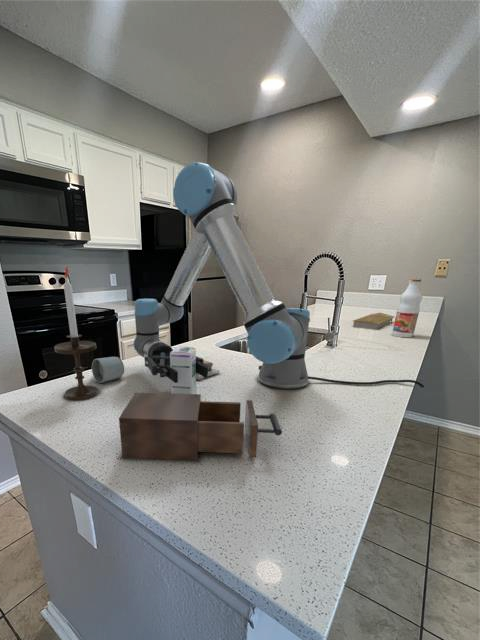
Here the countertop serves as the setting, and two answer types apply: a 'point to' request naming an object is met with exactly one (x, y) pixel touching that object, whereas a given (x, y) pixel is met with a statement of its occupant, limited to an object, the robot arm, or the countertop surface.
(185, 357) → the syrup box
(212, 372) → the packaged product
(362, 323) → the brown flat block
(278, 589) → the countertop surface
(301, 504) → the countertop surface
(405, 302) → the fruit juice
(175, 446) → the cabinet
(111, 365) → the light blue cylinder
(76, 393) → the candlestick
